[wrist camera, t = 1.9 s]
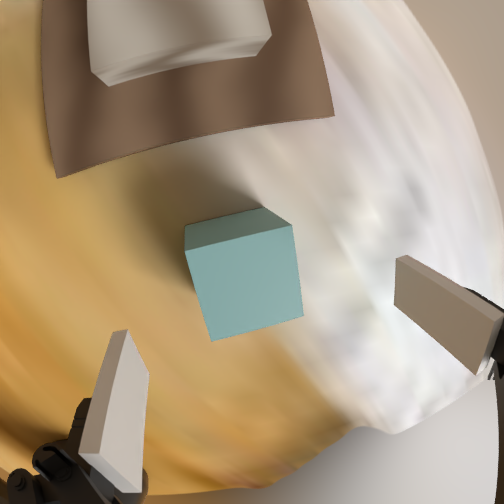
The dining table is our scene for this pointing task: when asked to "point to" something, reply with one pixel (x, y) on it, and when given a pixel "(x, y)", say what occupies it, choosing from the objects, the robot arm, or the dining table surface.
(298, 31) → the base
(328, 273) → the dining table surface
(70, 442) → the robot arm
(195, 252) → the cube
